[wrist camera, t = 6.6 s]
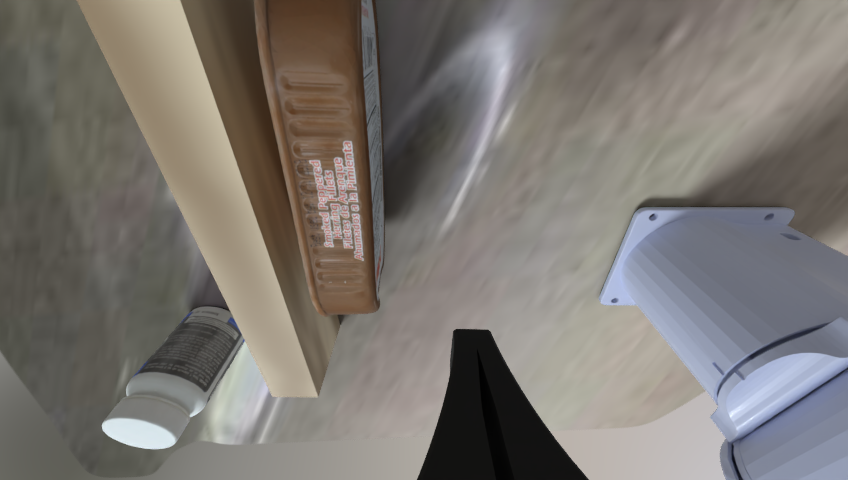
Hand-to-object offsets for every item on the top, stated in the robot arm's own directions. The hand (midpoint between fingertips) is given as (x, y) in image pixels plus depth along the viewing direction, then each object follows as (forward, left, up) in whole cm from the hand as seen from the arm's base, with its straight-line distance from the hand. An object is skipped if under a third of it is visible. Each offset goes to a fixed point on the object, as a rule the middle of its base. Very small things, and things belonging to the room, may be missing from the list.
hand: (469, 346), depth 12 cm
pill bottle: (+19, +9, -10) cm, 23 cm away
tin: (+5, -6, -10) cm, 12 cm away
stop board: (+10, -3, -9) cm, 14 cm away
